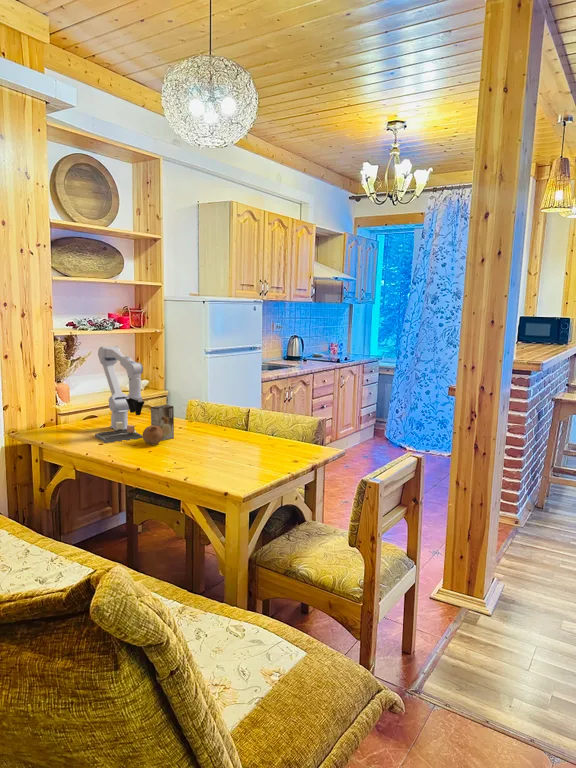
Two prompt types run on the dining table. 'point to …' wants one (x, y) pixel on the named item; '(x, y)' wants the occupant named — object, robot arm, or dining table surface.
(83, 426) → the dining table surface
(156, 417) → the coffee box
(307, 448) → the dining table surface
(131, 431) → the fader
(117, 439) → the console
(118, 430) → the block
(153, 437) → the onion
